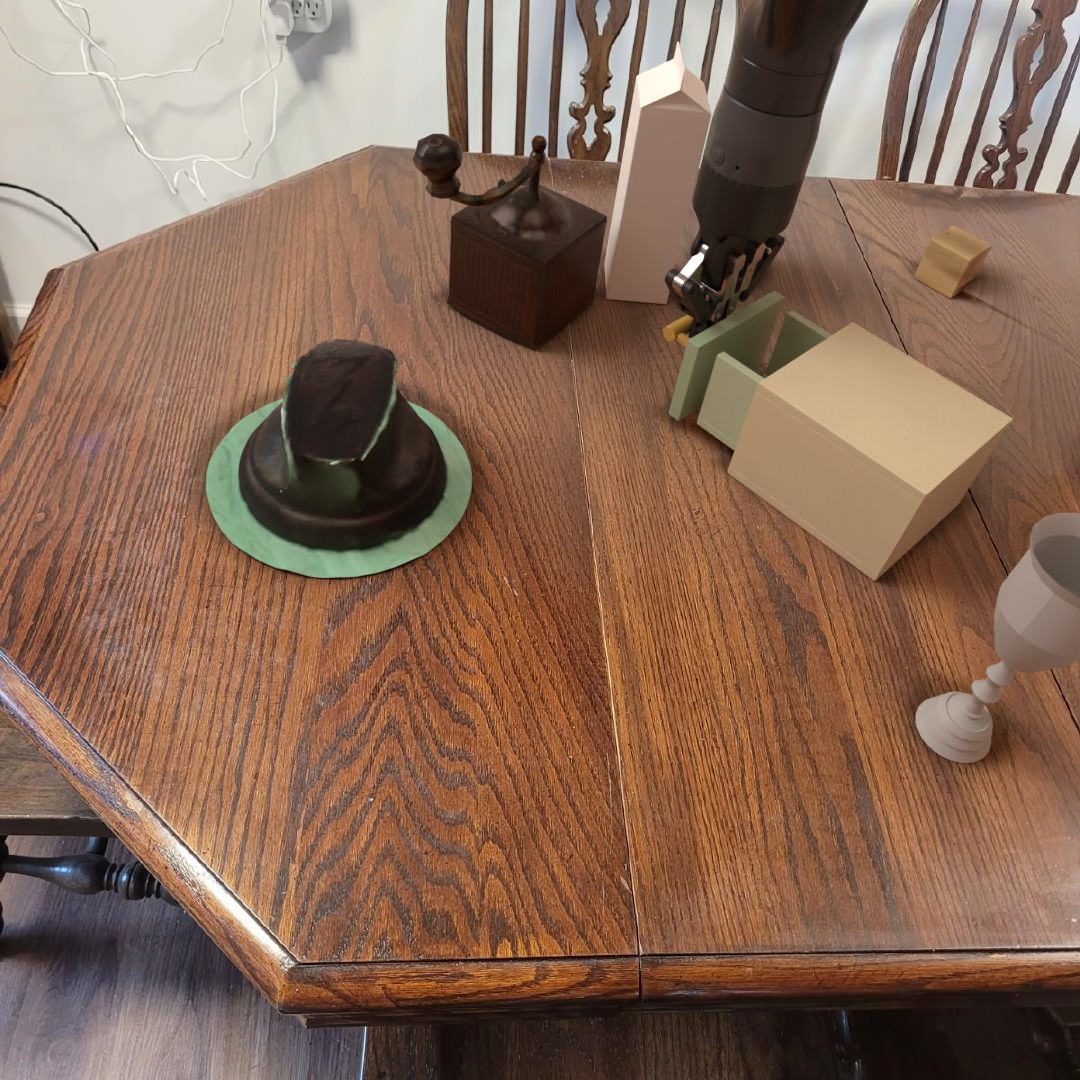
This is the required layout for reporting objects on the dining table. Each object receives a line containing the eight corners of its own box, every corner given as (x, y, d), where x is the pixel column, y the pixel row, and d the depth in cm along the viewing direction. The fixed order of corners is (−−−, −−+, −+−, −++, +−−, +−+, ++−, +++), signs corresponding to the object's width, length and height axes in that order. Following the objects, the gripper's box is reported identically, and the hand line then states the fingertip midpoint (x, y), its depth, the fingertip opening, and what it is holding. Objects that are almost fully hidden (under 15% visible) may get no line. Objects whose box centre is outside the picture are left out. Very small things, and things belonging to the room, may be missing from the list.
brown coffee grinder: (504, 257, 94) (518, 74, 81) (596, 302, 91) (628, 118, 77) (403, 328, 85) (401, 136, 72) (502, 381, 82) (518, 189, 68)
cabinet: (726, 472, 77) (758, 382, 70) (814, 410, 84) (852, 321, 76) (874, 581, 71) (926, 495, 64) (957, 505, 77) (1013, 418, 70)
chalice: (893, 750, 62) (1028, 583, 48) (904, 670, 66) (1031, 496, 52) (1005, 792, 61) (1176, 633, 47) (1010, 708, 65) (1167, 539, 51)
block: (935, 263, 102) (953, 225, 98) (972, 283, 100) (992, 245, 96) (912, 277, 99) (930, 239, 96) (950, 298, 97) (970, 260, 94)
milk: (606, 300, 91) (645, 67, 75) (603, 264, 95) (640, 36, 79) (667, 305, 92) (721, 75, 75) (663, 269, 96) (712, 43, 79)
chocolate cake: (498, 563, 67) (207, 603, 63) (457, 486, 84) (226, 514, 80) (483, 354, 62) (164, 383, 58) (443, 316, 79) (194, 337, 75)
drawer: (631, 387, 82) (647, 312, 76) (713, 338, 87) (735, 266, 82) (794, 505, 74) (827, 433, 68) (873, 444, 80) (909, 372, 74)
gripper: (740, 206, 63) (684, 402, 76) (849, 153, 70) (781, 341, 83) (657, 159, 66) (618, 355, 79) (769, 112, 73) (716, 300, 86)
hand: (701, 348), depth 81 cm, fingers closed
